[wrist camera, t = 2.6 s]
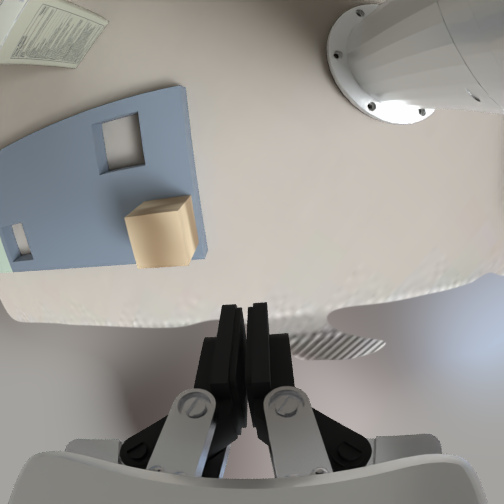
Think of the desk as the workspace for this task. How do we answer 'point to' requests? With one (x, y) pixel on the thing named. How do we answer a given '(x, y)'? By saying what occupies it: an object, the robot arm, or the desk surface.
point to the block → (163, 232)
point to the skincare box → (46, 32)
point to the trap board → (93, 184)
